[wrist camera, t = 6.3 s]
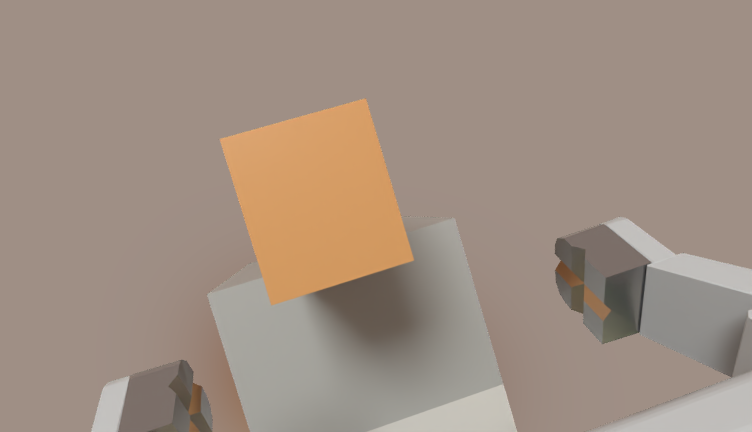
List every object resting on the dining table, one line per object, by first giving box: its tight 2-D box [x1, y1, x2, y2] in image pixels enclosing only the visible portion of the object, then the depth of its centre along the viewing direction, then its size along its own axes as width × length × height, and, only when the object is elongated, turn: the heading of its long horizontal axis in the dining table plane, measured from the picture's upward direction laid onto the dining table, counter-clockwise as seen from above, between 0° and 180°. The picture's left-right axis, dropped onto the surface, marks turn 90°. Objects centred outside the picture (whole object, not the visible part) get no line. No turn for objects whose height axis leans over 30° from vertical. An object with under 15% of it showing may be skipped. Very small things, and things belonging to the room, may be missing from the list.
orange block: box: [220, 99, 414, 306], centre depth 22 cm, size 4×20×4 cm, turn 7°
